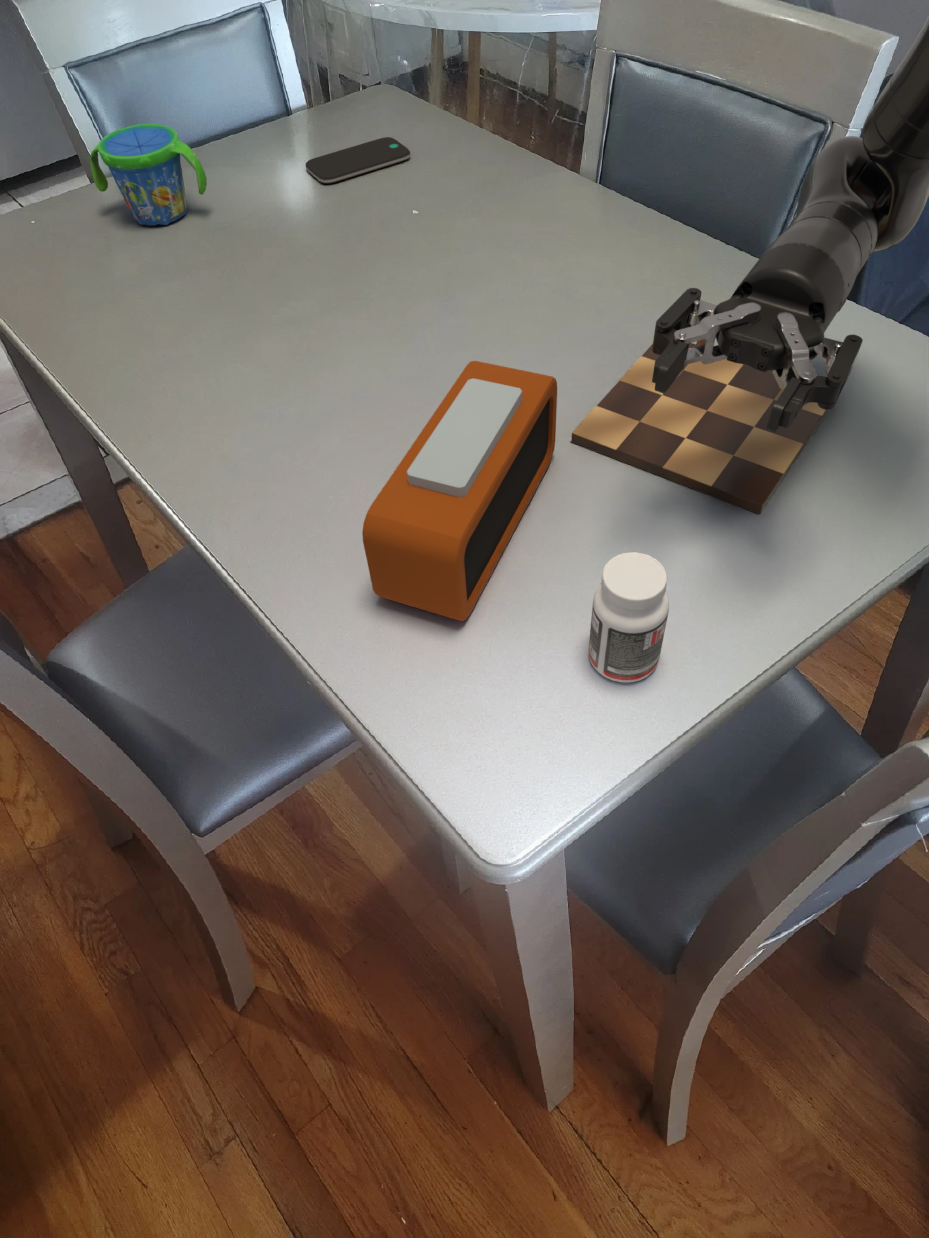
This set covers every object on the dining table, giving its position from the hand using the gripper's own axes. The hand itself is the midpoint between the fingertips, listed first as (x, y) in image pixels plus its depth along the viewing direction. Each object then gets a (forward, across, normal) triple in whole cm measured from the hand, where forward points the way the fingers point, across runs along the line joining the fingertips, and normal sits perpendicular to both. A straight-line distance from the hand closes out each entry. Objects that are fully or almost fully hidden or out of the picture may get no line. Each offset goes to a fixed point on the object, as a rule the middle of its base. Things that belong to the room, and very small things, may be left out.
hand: (715, 401), depth 61 cm
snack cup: (-26, -90, +21) cm, 96 cm away
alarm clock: (+4, -19, +19) cm, 27 cm away
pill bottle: (+11, 0, +18) cm, 21 cm away
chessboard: (-20, -6, +19) cm, 29 cm away
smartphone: (-51, -74, +21) cm, 93 cm away
